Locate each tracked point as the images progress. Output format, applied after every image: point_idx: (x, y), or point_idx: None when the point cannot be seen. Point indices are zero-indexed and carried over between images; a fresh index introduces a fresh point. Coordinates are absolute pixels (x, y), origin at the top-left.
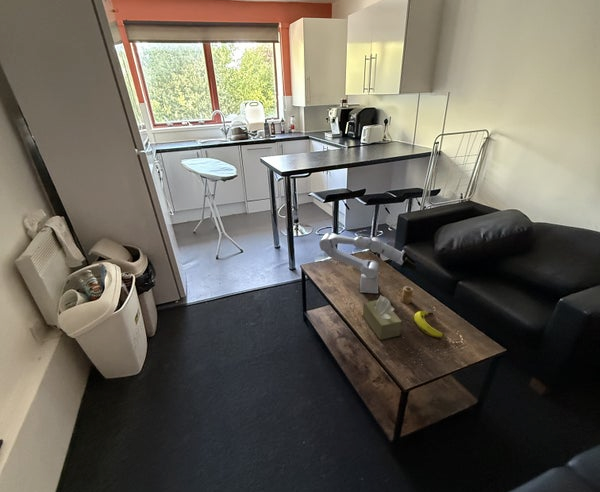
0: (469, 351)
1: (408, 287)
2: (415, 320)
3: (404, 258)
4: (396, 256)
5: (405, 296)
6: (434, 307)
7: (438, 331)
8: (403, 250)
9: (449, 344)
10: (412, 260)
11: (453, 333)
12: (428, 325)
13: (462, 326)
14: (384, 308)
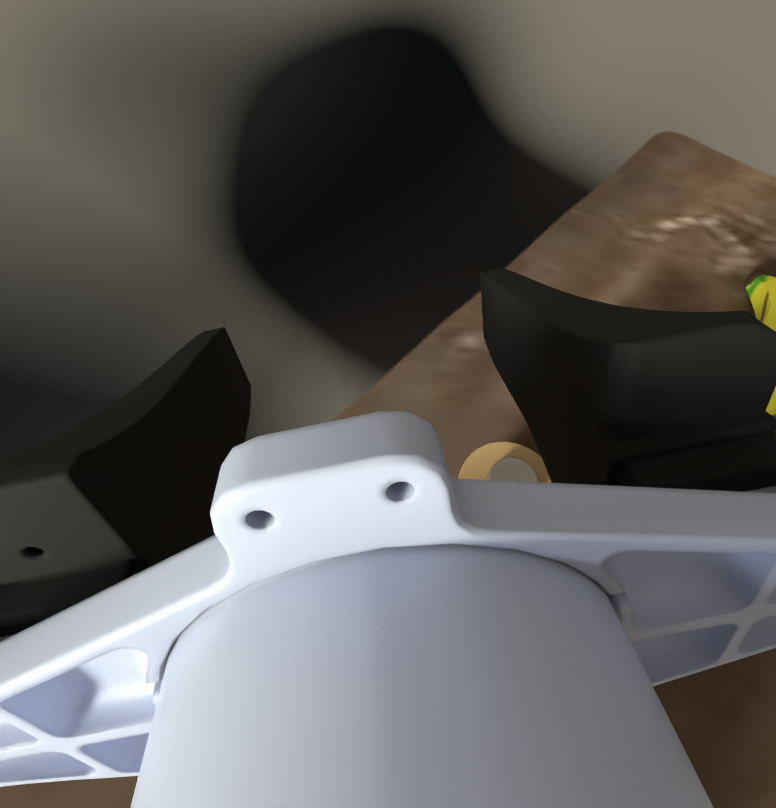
0: (755, 198)
1: (523, 477)
2: (774, 411)
3: (193, 526)
4: (701, 786)
5: None
6: (469, 338)
7: (771, 288)
8: (271, 458)
9: (772, 262)
10: (214, 369)
11: (669, 249)
12: None
13: (581, 217)
14: None
